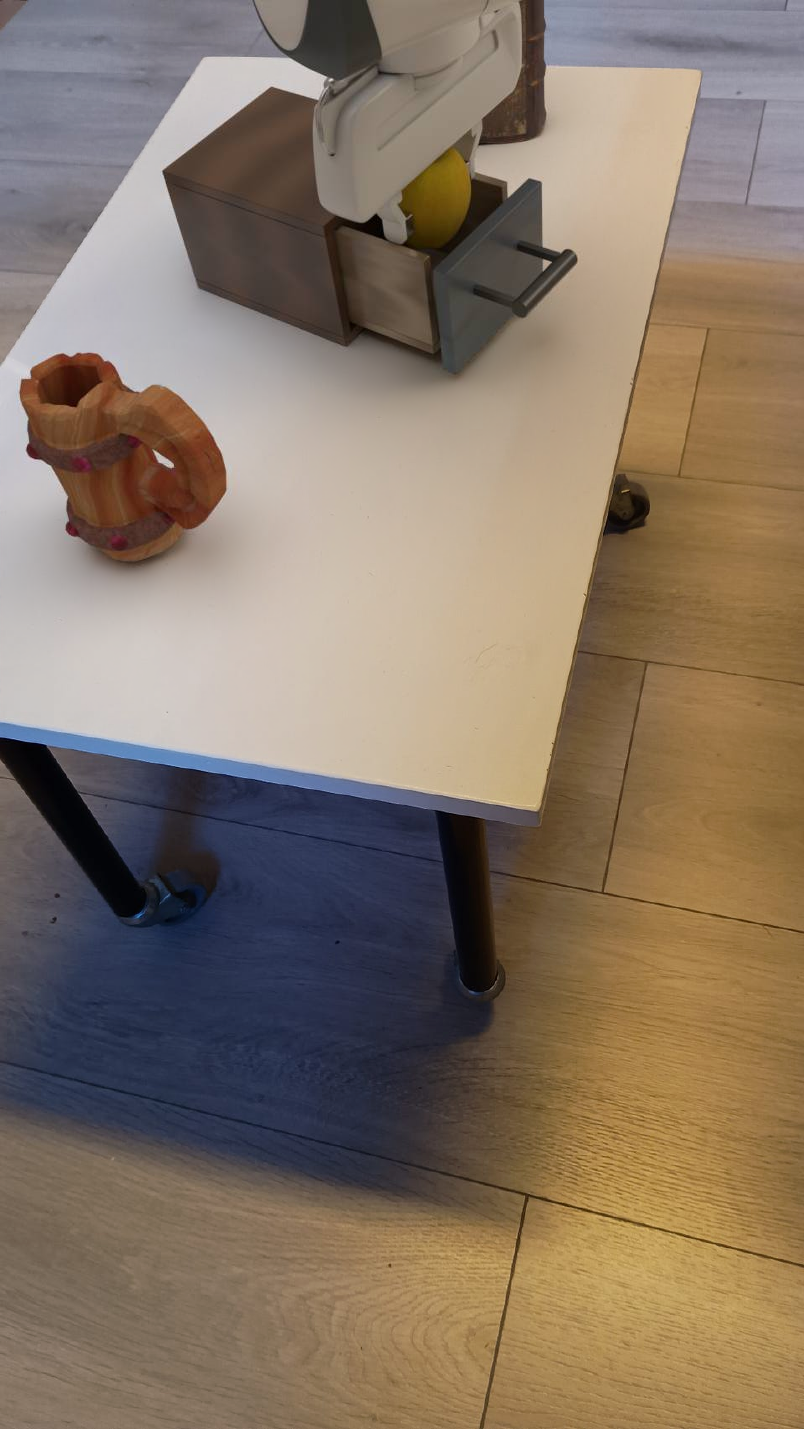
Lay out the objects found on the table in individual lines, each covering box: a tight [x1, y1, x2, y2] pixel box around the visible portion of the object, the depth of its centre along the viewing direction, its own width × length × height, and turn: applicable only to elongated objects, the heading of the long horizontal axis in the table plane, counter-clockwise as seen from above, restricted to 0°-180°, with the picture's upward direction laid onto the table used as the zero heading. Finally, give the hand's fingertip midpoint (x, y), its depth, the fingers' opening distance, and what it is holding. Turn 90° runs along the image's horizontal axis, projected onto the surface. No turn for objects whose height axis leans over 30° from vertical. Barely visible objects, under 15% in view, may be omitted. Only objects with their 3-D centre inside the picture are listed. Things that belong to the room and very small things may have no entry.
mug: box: [18, 352, 228, 562], centre depth 75 cm, size 15×8×15 cm, turn 62°
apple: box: [397, 146, 471, 249], centre depth 83 cm, size 6×6×8 cm
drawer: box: [332, 171, 579, 375], centre depth 87 cm, size 20×13×9 cm, turn 54°
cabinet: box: [161, 86, 366, 347], centre depth 93 cm, size 17×14×11 cm
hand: (431, 209), depth 84 cm, fingers closed on apple, 6 cm apart
